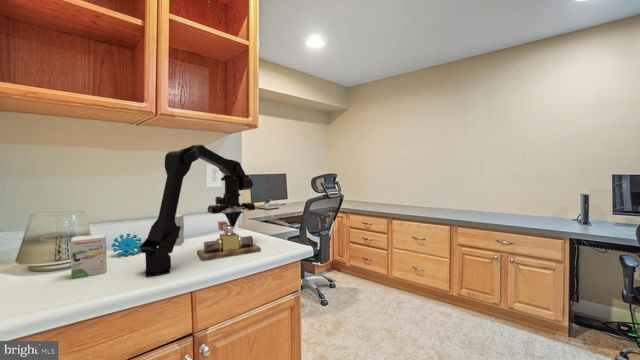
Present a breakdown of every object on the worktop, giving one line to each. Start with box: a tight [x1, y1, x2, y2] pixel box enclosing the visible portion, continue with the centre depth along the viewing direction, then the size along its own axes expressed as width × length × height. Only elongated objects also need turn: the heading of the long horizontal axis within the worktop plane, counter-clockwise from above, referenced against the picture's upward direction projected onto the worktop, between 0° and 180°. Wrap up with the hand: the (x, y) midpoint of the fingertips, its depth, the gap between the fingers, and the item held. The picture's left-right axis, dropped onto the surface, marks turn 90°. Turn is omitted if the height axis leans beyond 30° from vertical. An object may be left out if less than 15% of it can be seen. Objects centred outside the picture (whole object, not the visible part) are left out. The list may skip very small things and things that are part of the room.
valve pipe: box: [203, 232, 254, 253], centre depth 112 cm, size 18×6×6 cm, turn 122°
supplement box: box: [174, 213, 185, 247], centre depth 126 cm, size 7×7×13 cm
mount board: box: [196, 242, 262, 262], centre depth 112 cm, size 22×10×2 cm, turn 122°
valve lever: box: [217, 220, 234, 235], centre depth 116 cm, size 14×3×3 cm, turn 33°
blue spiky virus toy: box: [111, 232, 143, 257], centre depth 112 cm, size 11×6×10 cm
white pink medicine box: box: [70, 233, 108, 279], centre depth 90 cm, size 8×5×12 cm, turn 125°
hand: (232, 228), depth 121 cm, fingers closed
